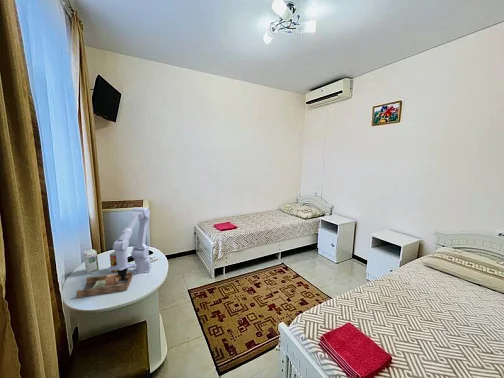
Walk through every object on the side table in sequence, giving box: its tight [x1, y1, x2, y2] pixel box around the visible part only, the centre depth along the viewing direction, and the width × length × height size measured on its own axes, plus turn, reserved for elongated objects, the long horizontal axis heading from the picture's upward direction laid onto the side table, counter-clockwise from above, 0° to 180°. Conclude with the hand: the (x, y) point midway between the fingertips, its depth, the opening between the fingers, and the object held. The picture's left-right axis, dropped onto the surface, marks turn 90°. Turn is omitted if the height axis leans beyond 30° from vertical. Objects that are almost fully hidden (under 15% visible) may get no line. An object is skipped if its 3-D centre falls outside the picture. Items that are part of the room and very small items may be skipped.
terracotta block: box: [105, 273, 117, 286], centre depth 132 cm, size 4×4×4 cm
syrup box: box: [83, 249, 100, 275], centre depth 148 cm, size 6×6×14 cm
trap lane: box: [75, 271, 133, 299], centre depth 131 cm, size 25×14×4 cm, turn 107°
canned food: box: [109, 251, 118, 273], centre depth 151 cm, size 8×8×12 cm
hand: (123, 279), depth 134 cm, fingers closed
